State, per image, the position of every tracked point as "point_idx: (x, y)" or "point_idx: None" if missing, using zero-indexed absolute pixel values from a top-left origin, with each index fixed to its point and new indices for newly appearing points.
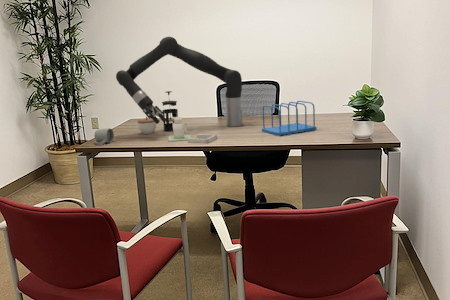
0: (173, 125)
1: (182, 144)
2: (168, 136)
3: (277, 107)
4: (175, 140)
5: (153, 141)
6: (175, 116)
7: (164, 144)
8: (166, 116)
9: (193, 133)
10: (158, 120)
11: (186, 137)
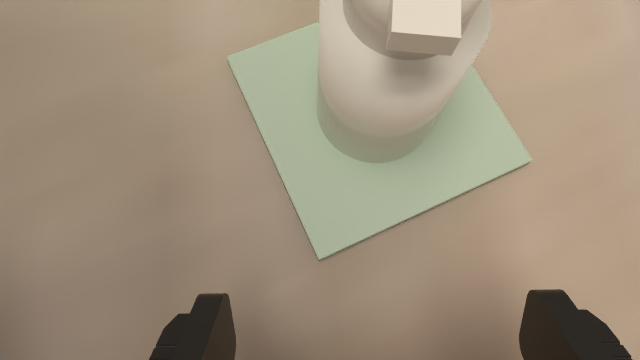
0: (473, 61)
1: (581, 2)
2: (335, 249)
3: None
4: (492, 99)
5: None
6: None
7: (635, 153)
8: None
9: (112, 69)
10: (572, 303)
11: None
